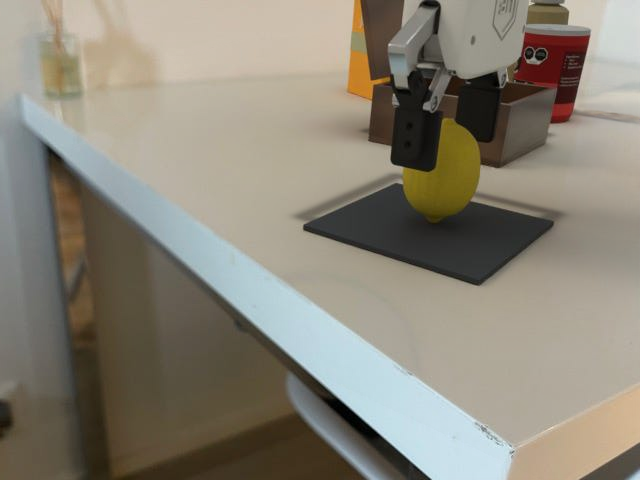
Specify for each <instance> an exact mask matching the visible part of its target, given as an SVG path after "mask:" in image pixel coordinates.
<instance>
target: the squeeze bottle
mask: <svg viewBox="0 0 640 480" xmlns="http://www.w3.org/2000/svg"><path fill="white" fill-rule="evenodd" d="M565 2H566V0H530V3H532V4H529V5H528V13H527V20H526V25H527V24H559V25H569V18H570V10H569V9H568V8H567V7H565V6H564V5H562V4H565ZM515 64H516V62H515V63H514V64H512V65H511V66H509V67H507V68H506V72H507V81H510V82H512V80H513V75H514V69H515Z"/></svg>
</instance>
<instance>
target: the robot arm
mask: <svg viewBox="0 0 640 480" xmlns="http://www.w3.org/2000/svg"><path fill="white" fill-rule="evenodd" d="M529 5H530V0H405V2H404V10H403V19H402V28H401V29H400V31H399V32H398V33H397V34H396V35H395V36H394V38H393V39H392V40H391V41H390V43H389V45H388V57H389V63H390V69H391V75H390V85H391V88H392V90H393V92H394V94H393V97H392V104H393V106H394V107H395V116H394V126H393V136H392V145H390V146H391V147H390V158H389V160H390V163H391V164H392V165H393V166H397V167H401V168H403V167H405V168H410V169H414V170H419V171H424V172H430V171H432V170H434V169H435V168H436V163H437V155H438V148H439V140H440V133H441V125H442V118H443V111H437V108H438V105H439V103H440V101H441V99H442V97H443V94H444V92H445V90H446V88H447V86H448V83H449V81H450V79H451V77H452V74H453V72H454V70H455V71H456V74H457V76H458V77H459V78H462V79H465V80H466V83H467V84H470V85H466V84H462V85H460V89H459V96H458V103H457V110H456V117H455V122H456V123H457V124H459V125H461V126H462V127H464V128H466V129H467V130H468V131H469V132H470V133H471V134H472V135H473V137H474V138H475V140H476V141H478V142H484V143H490V142H492V141H493V140H494V139H495V135H496V129H497V123H498V117H499V111H500V106H501V100H502V94H503V89H496V88H503V87H504V86H505V83H506V81H508V74H507V67H509V66H511V65H512V64H514V63H515V62H516V61H517V60H518V59H519V57H520V55H521V52H522V47H523V41H524V34H525V27H526V20H527V13H528V6H529ZM424 77H425V78H433V80H432V82H431V85H430V87H429V89H428V87H427V84H426V82H425V79H424Z"/></svg>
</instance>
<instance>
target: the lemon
mask: <svg viewBox="0 0 640 480" xmlns="http://www.w3.org/2000/svg"><path fill="white" fill-rule="evenodd" d="M481 166H482V164H481V163H480V151H479V147H478V144H477V142H476V140H475V138H474V137H473V135H472V134H471V133H470V132H469V131H468V130H467V129H466V128H464V127H462V126H461V125H459V124H457V123H456V122H455V120H454V119H452V118H444V119H443V120H442V125H441V133H440V140H439V148H438V155H437V163H436V168H435V169H434V170H432V171H430V172H424V171H419V170H414V169H410V168H405V167H402V184H403V189H404V193H405V196H406V198H407V200H408V202H409V203H410V204H411V205H412V207H413V208H414V209H415V210H417V211H418V212H419V213H422V214H424V215H425V216H426V218H427V219H428V220H429V222H431V223H438V222H439V221H440V220H442V219H443V218H444V217H448V216H451V215H454V214H456V213H458V212H459V211H461V210H462V209H463V208H464V207H465V206H466V205H467V204H468V203H469V202H470V201H472V199H473V198H474V196H475V194H476V192H477V189H478V186H479V182H480V178H481Z"/></svg>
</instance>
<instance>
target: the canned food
mask: <svg viewBox="0 0 640 480" xmlns="http://www.w3.org/2000/svg"><path fill="white" fill-rule="evenodd" d="M591 32H592V29H591V28H590V27H587V26H580V25H571V24H568V25H559V24H527V25H526V27H525V34H524V41H523V47H522V52H521V55H520V57H519V59H518V60H517V61H516V64H515V69H514V75H513V80H512V82H518V83H526V84H533V85H541V86H549V87H556V88H557V93H556V97H555V102H554V107H553V111H552V116H551V120H550V123H563V122H566V121H569V120H570V118H571V116H572V115H573V112H574V108H575V103H576V99H577V96H578V91H579V86H580V82H581V79H582V75H583V70H584V66H585V62H586V58H587V53H588V48H589V45H590V39H591V36H592V35H591V34H592V33H591Z"/></svg>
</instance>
